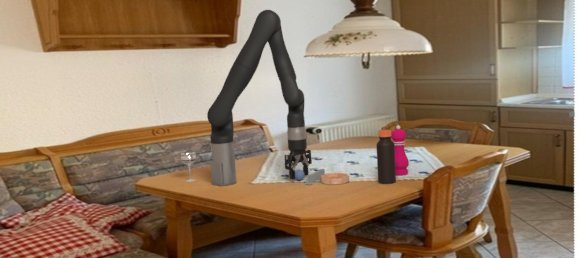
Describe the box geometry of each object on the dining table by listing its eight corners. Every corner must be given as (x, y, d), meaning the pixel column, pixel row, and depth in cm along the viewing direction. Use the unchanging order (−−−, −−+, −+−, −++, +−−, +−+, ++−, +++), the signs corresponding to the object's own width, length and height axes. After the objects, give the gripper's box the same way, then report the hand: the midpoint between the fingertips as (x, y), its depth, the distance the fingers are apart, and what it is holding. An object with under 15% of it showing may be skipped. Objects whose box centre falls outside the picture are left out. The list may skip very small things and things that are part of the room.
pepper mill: (396, 171, 237) (394, 124, 235) (412, 172, 233) (410, 124, 230) (387, 175, 232) (385, 126, 229) (403, 176, 227) (401, 126, 225)
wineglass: (189, 178, 251) (187, 151, 249) (201, 179, 247) (199, 152, 246) (179, 181, 245) (176, 154, 244) (191, 182, 242) (189, 154, 240)
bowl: (337, 185, 218) (337, 179, 218) (315, 183, 225) (315, 177, 225) (354, 180, 226) (354, 174, 226) (332, 177, 234) (331, 171, 233)
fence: (310, 184, 223) (310, 176, 223) (304, 184, 225) (303, 175, 224) (327, 177, 235) (326, 169, 234) (320, 177, 236) (320, 168, 236)
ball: (300, 181, 230) (299, 171, 229) (291, 180, 233) (291, 170, 232) (307, 179, 233) (306, 169, 232) (298, 178, 236) (298, 168, 235)
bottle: (396, 180, 222) (394, 129, 219) (395, 184, 215) (392, 131, 213) (379, 180, 223) (376, 129, 221) (377, 184, 217) (374, 132, 215)
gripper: (292, 140, 223) (294, 181, 225) (315, 135, 233) (317, 174, 235) (278, 140, 228) (280, 179, 230) (301, 134, 238) (303, 173, 240)
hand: (299, 177), depth 233 cm, fingers open, 8 cm apart
